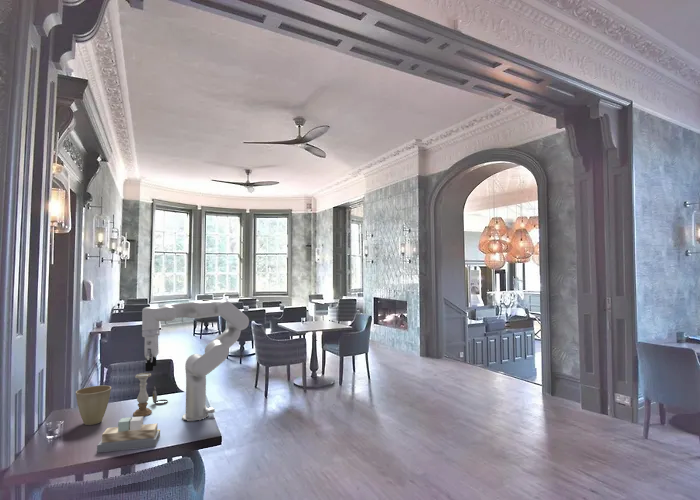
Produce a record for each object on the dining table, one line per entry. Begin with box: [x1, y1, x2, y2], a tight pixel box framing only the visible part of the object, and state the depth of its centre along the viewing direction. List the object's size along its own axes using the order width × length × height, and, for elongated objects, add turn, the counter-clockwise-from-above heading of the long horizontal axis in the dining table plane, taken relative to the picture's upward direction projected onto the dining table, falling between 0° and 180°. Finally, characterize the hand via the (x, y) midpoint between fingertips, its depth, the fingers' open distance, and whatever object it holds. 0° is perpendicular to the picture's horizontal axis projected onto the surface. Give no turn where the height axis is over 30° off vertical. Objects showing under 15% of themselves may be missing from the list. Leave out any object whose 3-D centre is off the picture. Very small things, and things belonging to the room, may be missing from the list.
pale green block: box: [117, 416, 133, 432], centre depth 176 cm, size 4×5×4 cm
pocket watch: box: [151, 386, 169, 405], centre depth 230 cm, size 8×8×10 cm
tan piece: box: [101, 423, 159, 443], centre depth 177 cm, size 20×7×4 cm, turn 105°
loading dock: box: [96, 429, 161, 453], centre depth 177 cm, size 22×11×3 cm, turn 105°
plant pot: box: [75, 385, 112, 426], centre depth 202 cm, size 15×15×16 cm
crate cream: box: [130, 416, 144, 431], centre depth 178 cm, size 4×5×4 cm
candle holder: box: [132, 372, 153, 417], centre depth 213 cm, size 9×9×20 cm
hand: (151, 368), depth 197 cm, fingers open, 9 cm apart
